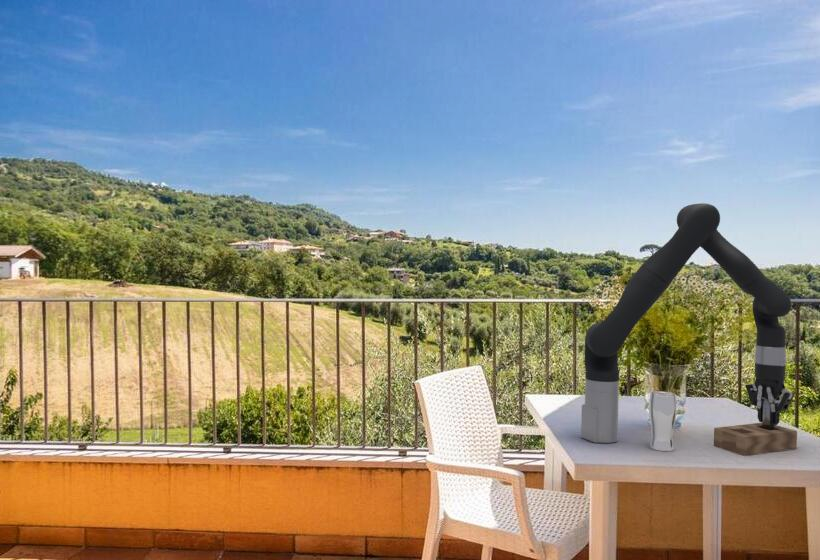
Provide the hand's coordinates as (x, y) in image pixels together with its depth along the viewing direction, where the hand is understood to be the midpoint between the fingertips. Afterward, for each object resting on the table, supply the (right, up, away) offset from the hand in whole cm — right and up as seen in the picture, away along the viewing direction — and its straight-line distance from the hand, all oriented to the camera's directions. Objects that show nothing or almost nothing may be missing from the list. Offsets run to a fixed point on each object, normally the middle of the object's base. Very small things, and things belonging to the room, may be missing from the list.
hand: (768, 423), depth 177 cm
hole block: (-5, -6, -2) cm, 8 cm away
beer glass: (-32, -6, -5) cm, 33 cm away
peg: (0, -3, 0) cm, 3 cm away
